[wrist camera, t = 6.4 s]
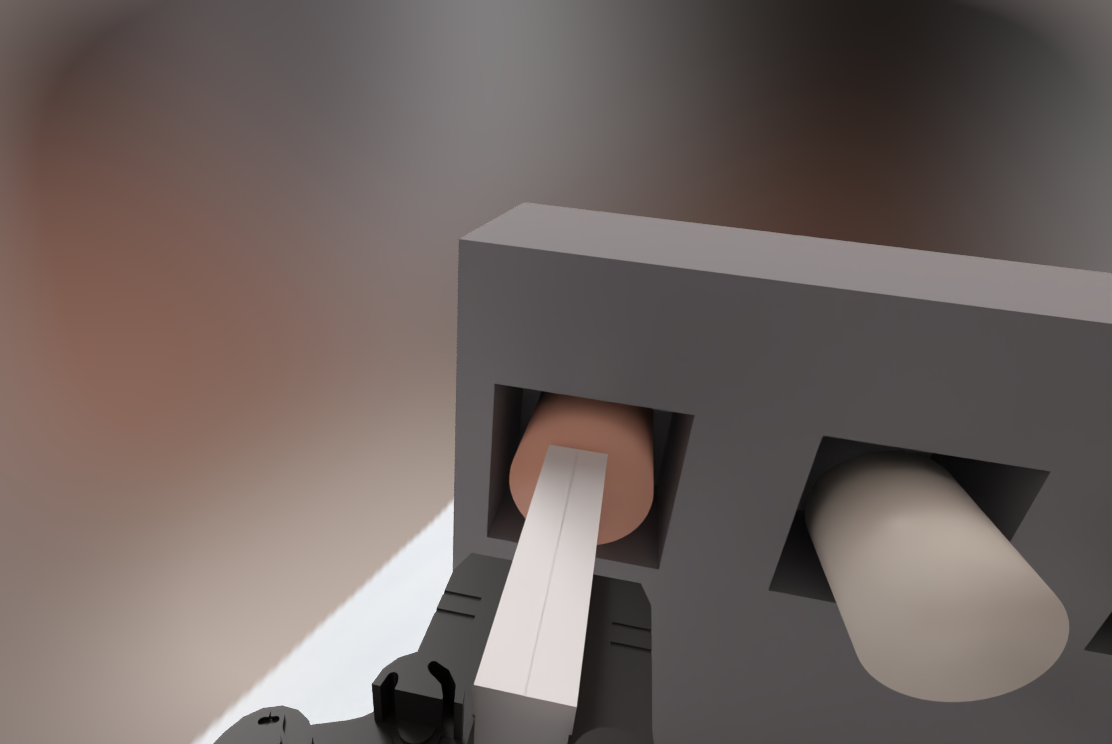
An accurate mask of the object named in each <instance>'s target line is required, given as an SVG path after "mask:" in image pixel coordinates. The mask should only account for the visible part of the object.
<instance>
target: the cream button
mask: <svg viewBox="0 0 1112 744" xmlns="http://www.w3.org/2000/svg"><path fill="white" fill-rule="evenodd" d="M805 522H806V526H807V529H808V532H809V535H810V537H811V540H812V542H813V545H814V547H815V550H816V552H817V555H818V557H819V560H820V562H821V565H822V568H823V570H824V573H825V575H826V578H827V580H828V583H829V585H830V588H831V590H832V593H833V596H834V598H835V601H836V603H837V606H838V608H839V611H840V613H841V616H842V618H843V621H844V623H845V626H846V629H847V631H848V634H849V636H850V639H851V641H852V644H853V646H854V649H855V651H856V654H857V656H858V658H859V661H860V662H861V664H862V665H863V667H864V668H865V669H866V670H867V672H868V673H869V674H870V675H871V676H872V677H874V678H875V679H876V680H877V681H879V682H880V683H882V684H883V685H885V686H887V687H888V688H890V689H892V690H895V691H897V692H899V693H902V694H905V695H908V696H911V697H915V698H919V699H924V700H930V701H939V702H967V701H976V700H982V699H988V698H992V697H996V696H1000V695H1003V694H1006V693H1009V692H1012V691H1014V690H1016V689H1018V688H1021V687H1023V686H1025V685H1027V684H1028V683H1030V682H1032V681H1034V680H1035V679H1037V678H1038V677H1039V676H1041V675H1042V674H1044V673H1045V672H1046V671H1047V670H1048V669H1049V668H1050V667H1051V666H1052V665H1053V664H1054V663H1055V662H1056V660H1057V659H1058V658H1059V657H1060V655H1061V653H1062V652H1063V650H1064V648H1065V646H1066V643H1067V640H1068V635H1069V619H1068V616H1067V612H1066V610H1065V608H1064V606H1063V604H1062V602H1061V601H1060V600H1059V598H1058V597H1057V596H1056V595H1055V593H1054V592H1053V591H1052V590H1051V589H1050V588H1049V587H1048V585H1047V584H1046V583H1045V582H1044V581H1043V580H1042V579H1041V577H1040V576H1039V575H1038V574H1037V573H1036V572H1035V571H1034V569H1033V568H1032V567H1031V566H1030V565H1029V564H1028V563H1027V561H1026V560H1025V559H1024V558H1023V557H1022V556H1021V555H1020V553H1019V552H1018V551H1017V550H1016V549H1015V548H1014V547H1013V545H1012V544H1011V543H1010V542H1009V541H1008V540H1007V538H1006V537H1005V536H1004V535H1003V534H1002V533H1001V532H1000V530H999V529H998V528H997V527H996V526H995V525H994V524H993V522H992V521H991V520H990V519H989V518H988V517H987V516H986V514H985V513H984V512H983V511H982V510H981V509H980V508H979V506H978V505H977V504H976V503H975V502H974V501H973V500H972V498H971V497H970V496H969V495H968V494H967V493H966V492H965V490H964V489H963V488H962V487H961V486H960V485H959V484H958V482H957V481H956V480H955V479H954V478H953V477H952V476H951V474H950V473H949V472H948V471H947V470H946V469H945V468H943V467H942V466H941V465H939V464H938V463H936V462H935V461H933V460H931V459H929V458H927V457H924V456H921V455H918V454H914V453H910V452H904V451H877V452H871V453H866V454H862V455H859V456H856V457H853V458H851V459H848V460H846V461H844V462H842V463H840V464H838V465H837V466H835V467H834V468H832V469H831V470H829V471H828V472H827V473H826V474H825V475H824V476H822V477H821V478H820V480H819V481H818V482H817V483H816V484H815V486H814V487H813V489H812V490H811V492H810V494H809V496H808V499H807V502H806V506H805Z"/></svg>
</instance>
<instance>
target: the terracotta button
mask: <svg viewBox="0 0 1112 744" xmlns="http://www.w3.org/2000/svg"><path fill="white" fill-rule="evenodd" d="M549 444H551V445H557V446H563V447H569V448H575V449H581V450H587V451H593V452H599V453H605V454H608V457H607V465H606V473H605V481H604V490H603V498H602V506H601V514H600V522H599V530H598V538H597V545H600V544H605V543H609V542H613V541H616V540H618V539H621V538H623V537H625V536H626V535H628V534H630V533H631V532H632V531H634V530H635V529H636V528H637V527H638V526H639V525H640V524H641V523H642V522H643V520H644V519H645V518H646V516H647V514H648V512H649V510H650V508H651V505H652V501H653V494H654V480H653V410H652V408H646V407H640V406H633V405H627V404H621V403H614V402H608V401H602V400H595V399H589V398H583V397H576V396H570V395H564V394H557V393H551V392H545V391H542V393H541V395H540V397H539V399H538V402H537V404H536V407H535V409H534V411H533V414H532V416H531V419H530V421H529V423H528V426H527V428H526V430H525V433H524V435H523V438H522V440H521V442H520V445H519V447H518V450H517V452H516V454H515V457H514V459H513V462H512V465H511V468H510V475H509V484H510V490H511V494H512V497H513V500H514V502H515V504H516V506H517V507H518V509H519V511H520V512H521V514H522V515H523V516H524V517H525V518H526V517H527V514H528V511H529V507H530V504H531V501H532V498H533V495H534V492H535V488H536V485H537V482H538V479H539V476H540V473H541V469H542V466H543V463H544V460H545V457H546V454H547V450H548V447H549Z"/></svg>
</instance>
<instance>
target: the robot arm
mask: <svg viewBox="0 0 1112 744" xmlns="http://www.w3.org/2000/svg"><path fill="white" fill-rule="evenodd" d="M607 457H608V454H605V453H599V452H593V451H587V450H581V449H575V448H569V447H563V446H557V445H551V444H549V447H548V450H547V454H546V457H545V460H544V463H543V466H542V469H541V473H540V476H539V479H538V482H537V485H536V488H535V492H534V495H533V498H532V501H531V504H530V507H529V511H528V514H527V517H526V520H525V523H524V527H523V530H522V533H521V536H520V539H519V542H518V546H517V549H516V552H515V555H514V558H513V560H507V559H502V558H497V557H492V556H486V555H481V554H476V553H471V554H470V555H469V556H468V557H467V558H466V559H465V560H463V561H462V562H461V563H460V564H459V565H458V566H457V567H456V568H455V569H454V571H453V573H452V575H451V577H450V580H449V582H448V584H447V586H446V589H445V592H444V595H442V598H441V600H440V602H439V605H438V607H437V611H436V613H435V614H434V616H433V618H432V620H431V623H430V625H429V627H428V629H427V632H426V634H425V636H424V638H423V641H422V643H421V645H420V647H419V650H418V652H415V653H412V654H409V655H406V656H402V657H399V658H398V659H396V660H395V661H393V662H392V663H391V664H389V665H388V666H386V667H385V668H384V669H383V670H382V671H381V672H380V674H379V675H378V677H377V678H376V679H375V681H374V682H373V683H372V692H373V706H374V712H372V713H370V714H368V715H366V716H364V717H360V718H356V719H352V720H347V721H339V722H331V723H323V724H315V725H310V723H309V720H308V719H307V718H306V717H305V716H304V715H303V714H302V713H301V712H300V711H299V710H296V709H292V708H289V707H285V706H276V707H268V708H262V709H260V710H258V711H256V712H253V713H251V714H249V715H247V716H244V717H243V718H242V719H240V720H239V721H238V722H237V723H235V724H234V725H233V726H231V727H230V728H229V729H228V730H226V731H225V732H224V733H223V734H222V735H221V736H220V737H219V738H218V739H217V740H216V741H215V742H214V744H654V740H653V732H652V655H651V651H652V634H651V630H652V619H651V604H650V602H649V600H648V597H647V595H646V593H645V591H644V589H643V587H642V585H641V583H637V582H631V581H626V580H621V579H616V578H610V577H605V576H600V575H594V574H593V571H594V563H595V554H596V546H597V538H598V530H599V522H600V514H601V506H602V498H603V490H604V481H605V473H606V465H607Z"/></svg>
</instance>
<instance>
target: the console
mask: <svg viewBox="0 0 1112 744" xmlns="http://www.w3.org/2000/svg"><path fill="white" fill-rule="evenodd" d="M457 319H458V321H457V376H456V427H455V482H454V536H453V571H454V569H455V568H456V567H457V566H458V565H459V564H460V563H461V562H462V561H463V560H465V559H466V558H467V557H468V556H469V555H470V554H471V553H476V554H481V555H486V556H492V557H497V558H502V559H507V560H513V558H514V555H515V552H516V549H517V546H518V542H519V539H520V536H521V533H522V530H523V527H524V523H525V520H526V518H525V517H524V516H523V515H522V514H521V512H520V511H519V509H518V507H517V506H516V504H515V502H514V500H513V497H512V494H511V490H510V484H509V475H510V468H511V465H512V462H513V459H514V457H515V454H516V452H517V450H518V447H519V445H520V442H521V440H522V438H523V435H524V433H525V430H526V428H527V426H528V423H529V421H530V419H531V416H532V414H533V411H534V409H535V407H536V404H537V402H538V399H539V397H540V395H541V393H542V391H545V392H551V393H557V394H564V395H570V396H576V397H583V398H589V399H595V400H602V401H608V402H614V403H621V404H627V405H633V406H640V407H646V408H652V410H653V480H654V494H653V501H652V505H651V508H650V510H649V512H648V514H647V516H646V518H645V519H644V520H643V522H642V523H641V524H640V525H639V526H638V527H637V528H636V529H635V530H634V531H632V532H631V533H630V534H628V535H626V536H625V537H623V538H621V539H618V540H616V541H613V542H609V543H605V544H600V545H597V546H596V554H595V563H594V571H593V574H594V575H600V576H605V577H610V578H616V579H621V580H626V581H631V582H637V583H641V585H642V587H643V589H644V591H645V593H646V595H647V597H648V600H649V602H650V604H651V619H652V630H651V634H652V651H651V655H652V732H653V740H654V744H1112V273H1104V272H1095V271H1088V270H1079V269H1071V268H1062V267H1055V266H1045V265H1038V264H1029V263H1021V262H1013V261H1004V260H997V259H988V258H980V257H972V256H964V255H955V254H947V253H939V252H930V251H922V250H913V249H905V248H897V247H889V246H880V245H873V244H864V243H855V242H848V241H839V240H830V239H822V238H815V237H806V236H798V235H789V234H781V233H773V232H764V231H757V230H748V229H740V228H731V227H724V226H715V225H707V224H699V223H691V222H682V221H674V220H666V219H657V218H649V217H641V216H633V215H624V214H616V213H607V212H600V211H591V210H583V209H574V208H566V207H557V206H550V205H542V204H533V203H522V204H520V205H519V206H517V207H515V208H513V209H512V210H510V211H508V212H506V213H504V214H503V215H501V216H499V217H497V218H496V219H494V220H492V221H490V222H488V223H487V224H485V225H483V226H481V227H479V228H478V229H476V230H474V231H472V232H471V233H469V234H467V235H465V236H463V237H462V238H460V239H459V265H458V318H457ZM877 451H904V452H910V453H914V454H918V455H921V456H924V457H927V458H929V459H931V460H933V461H935V462H936V463H938V464H939V465H941V466H942V467H943V468H945V469H946V470H947V471H948V472H949V473H950V474H951V476H952V477H953V478H954V479H955V480H956V481H957V482H958V484H959V485H960V486H961V487H962V488H963V489H964V490H965V492H966V493H967V494H968V495H969V496H970V497H971V498H972V500H973V501H974V502H975V503H976V504H977V505H978V506H979V508H980V509H981V510H982V511H983V512H984V513H985V514H986V516H987V517H988V518H989V519H990V520H991V521H992V522H993V524H994V525H995V526H996V527H997V528H998V529H999V530H1000V532H1001V533H1002V534H1003V535H1004V536H1005V537H1006V538H1007V540H1008V541H1009V542H1010V543H1011V544H1012V545H1013V547H1014V548H1015V549H1016V550H1017V551H1018V552H1019V553H1020V555H1021V556H1022V557H1023V558H1024V559H1025V560H1026V561H1027V563H1028V564H1029V565H1030V566H1031V567H1032V568H1033V569H1034V571H1035V572H1036V573H1037V574H1038V575H1039V576H1040V577H1041V579H1042V580H1043V581H1044V582H1045V583H1046V584H1047V585H1048V587H1049V588H1050V589H1051V590H1052V591H1053V592H1054V593H1055V595H1056V596H1057V597H1058V598H1059V600H1060V601H1061V602H1062V604H1063V606H1064V608H1065V610H1066V612H1067V616H1068V619H1069V635H1068V640H1067V643H1066V646H1065V648H1064V650H1063V652H1062V653H1061V655H1060V657H1059V658H1058V659H1057V660H1056V662H1055V663H1054V664H1053V665H1052V666H1051V667H1050V668H1049V669H1048V670H1047V671H1046V672H1045V673H1044V674H1042V675H1041V676H1039V677H1038V678H1037V679H1035V680H1034V681H1032V682H1030V683H1028V684H1027V685H1025V686H1023V687H1021V688H1018V689H1016V690H1014V691H1012V692H1009V693H1006V694H1003V695H1000V696H996V697H992V698H988V699H982V700H976V701H967V702H939V701H930V700H924V699H919V698H915V697H911V696H908V695H905V694H902V693H899V692H897V691H895V690H892V689H890V688H888V687H887V686H885V685H883V684H882V683H880V682H879V681H877V680H876V679H875V678H874V677H872V676H871V675H870V674H869V673H868V672H867V670H866V669H865V668H864V667H863V665H862V664H861V662H860V661H859V658H858V656H857V654H856V651H855V649H854V646H853V644H852V641H851V639H850V636H849V634H848V631H847V629H846V626H845V623H844V621H843V618H842V616H841V613H840V611H839V608H838V606H837V603H836V601H835V598H834V596H833V593H832V590H831V588H830V585H829V583H828V580H827V578H826V575H825V573H824V570H823V568H822V565H821V562H820V560H819V557H818V555H817V552H816V550H815V547H814V545H813V542H812V540H811V537H810V535H809V532H808V529H807V526H806V522H805V506H806V502H807V499H808V496H809V494H810V492H811V490H812V489H813V487H814V486H815V484H816V483H817V482H818V481H819V480H820V478H821V477H822V476H824V475H825V474H826V473H827V472H828V471H829V470H831V469H832V468H834V467H835V466H837V465H838V464H840V463H842V462H844V461H846V460H848V459H851V458H853V457H856V456H859V455H862V454H866V453H871V452H877Z"/></svg>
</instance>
